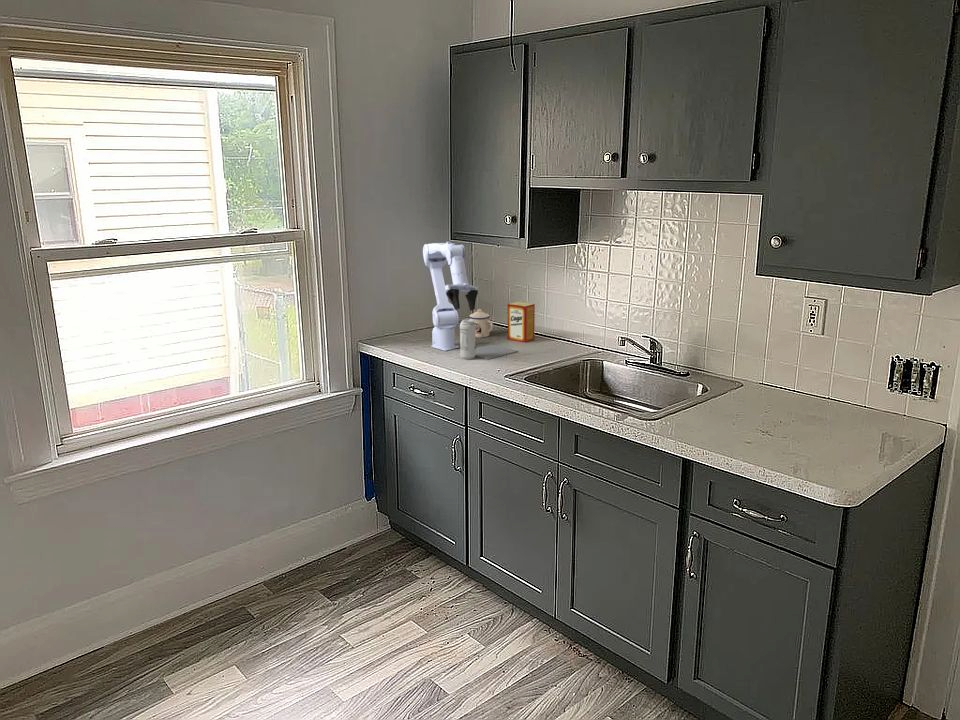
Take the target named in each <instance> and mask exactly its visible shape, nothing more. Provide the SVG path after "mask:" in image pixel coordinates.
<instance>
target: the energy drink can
mask: <svg viewBox="0 0 960 720" xmlns="http://www.w3.org/2000/svg"><path fill="white" fill-rule="evenodd" d="M459 350H460V352H459V353H460V357H461V359H463V360H466V361H467V360H473V359H475V357H476V337H475V323H474V320H470V318H469V319H467V318H466V319H462V320H461V322H460V324H459Z"/></svg>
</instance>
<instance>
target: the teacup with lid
mask: <svg viewBox="0 0 960 720" xmlns="http://www.w3.org/2000/svg"><path fill="white" fill-rule="evenodd" d="M468 317H469V319H470V320H474V323H475V338H486V337H488V336H490V332H492V331H493V329H494V323H493V322H492V320H490V318H491V316H490V314H489V313H487V312H484V311H483V310H482V309H481V308H479V309H476V311H474V312H473V313H471V314H470V315H469V316H468Z"/></svg>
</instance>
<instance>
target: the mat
mask: <svg viewBox="0 0 960 720" xmlns="http://www.w3.org/2000/svg"><path fill="white" fill-rule="evenodd" d="M518 352H519V351H518V350H516V349H513V348H508V347H504V346H500V345H496V344H488V345H485V346H480V347H477V348H476V356H475V357H477V358H480V359H484V360H487V361H488V360H492V359H495V358H500V357H503V356H507V355H511V354H514V353H515V354H516V353H518Z"/></svg>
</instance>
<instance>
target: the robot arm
mask: <svg viewBox="0 0 960 720" xmlns="http://www.w3.org/2000/svg"><path fill="white" fill-rule="evenodd" d="M422 256H423V261H424V265H425V267H428V268H429V271H430V275H431V281H432V285H433V290H434V294H435V299H436V305H435V306H434V307H433V309H432V323H433V326H434V327H433V328H432V332H431V333H432V334H431V337H432V339H431V340H432V342H431V343H432V345H430V347H431V348H434V349H437V350H440V351H444V352H446V351H447V352H448V351H451V350H455V349H458V348H459V349H460V345H456V335H455V334H456V333H455V331H456V330H455V328H456V327H457V325H458V324H459V321H460V318H459V313H458V311H457V310H459V309H461V308H460V307H461V306H460V299H459V295H460V292H465V293H466V292H467V293H466V294H465V295H464V297H465V298H466V300H467V303H468V304H467V305H468V308H469V311H474V310H475V309H476V299H477V297H478V293H479V290H478V286H475V285H471V284H470V283H469V281H468V277H467V271H466V270H467V269H466V265H465V258H466V257H465V256H466V250H465V246H464V245H463V244H455V243H454V242H453V243H452V242H451V241H446V242H436V243H435V242H433V243H425V244H424V245H423V247H422ZM447 264H448V266H449V269H450V274H451V280H452V284H445V278H444V274H443V273H444V272H443V267H444V266H446V265H447ZM449 300H450V302H451V303H450V302H449Z"/></svg>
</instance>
